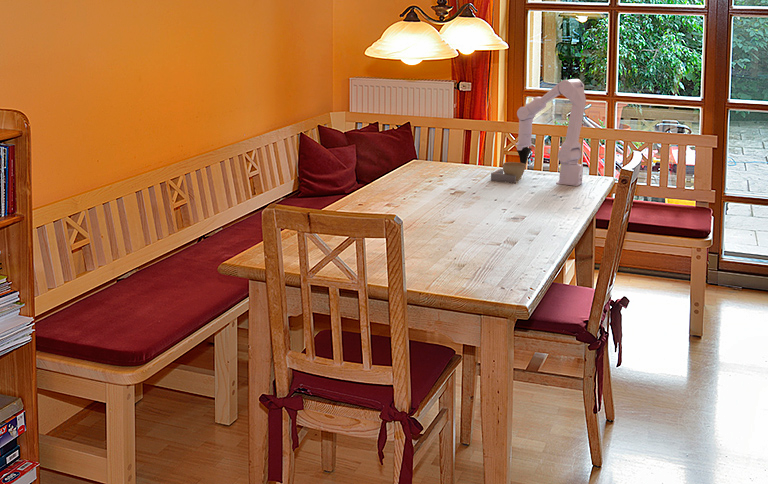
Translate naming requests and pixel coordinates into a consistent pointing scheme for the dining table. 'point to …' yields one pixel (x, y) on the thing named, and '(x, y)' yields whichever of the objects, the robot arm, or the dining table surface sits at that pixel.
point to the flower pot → (514, 169)
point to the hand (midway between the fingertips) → (523, 164)
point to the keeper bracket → (502, 177)
